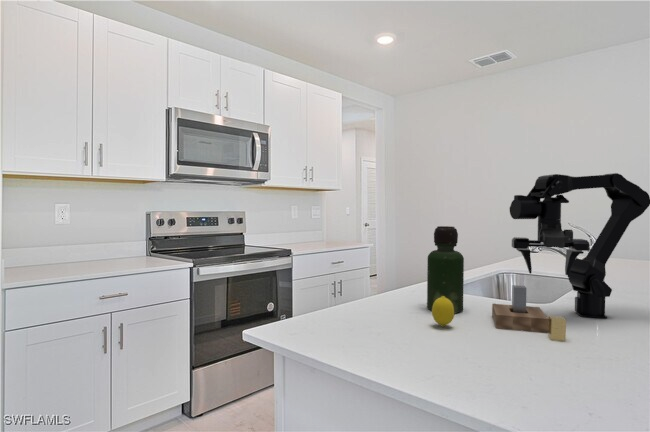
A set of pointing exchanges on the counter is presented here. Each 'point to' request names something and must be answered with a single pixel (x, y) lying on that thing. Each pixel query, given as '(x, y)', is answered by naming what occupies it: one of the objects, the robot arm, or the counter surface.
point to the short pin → (557, 328)
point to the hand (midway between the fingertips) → (548, 274)
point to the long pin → (518, 299)
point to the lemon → (443, 311)
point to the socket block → (520, 318)
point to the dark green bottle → (445, 269)
